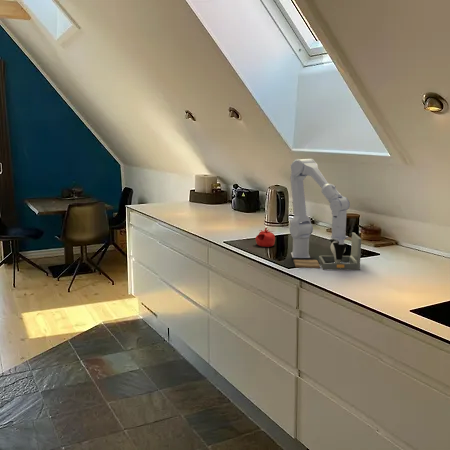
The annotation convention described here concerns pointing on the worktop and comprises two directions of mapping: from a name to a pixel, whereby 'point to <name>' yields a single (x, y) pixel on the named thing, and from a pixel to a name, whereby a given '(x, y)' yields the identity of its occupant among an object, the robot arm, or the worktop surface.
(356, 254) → the case
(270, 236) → the pomegranate
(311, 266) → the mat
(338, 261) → the lightbulb
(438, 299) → the worktop surface
